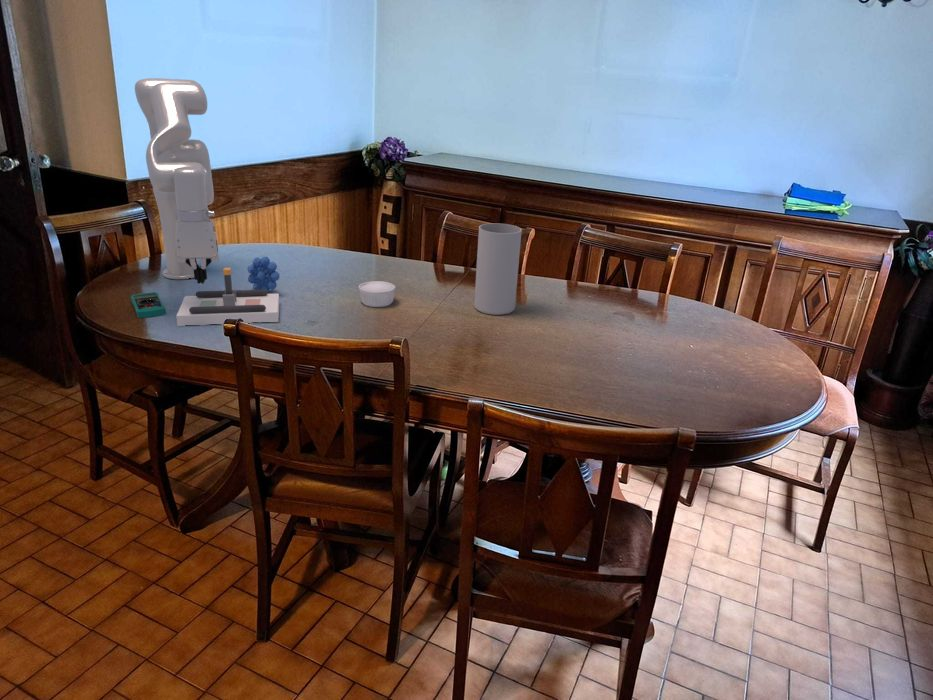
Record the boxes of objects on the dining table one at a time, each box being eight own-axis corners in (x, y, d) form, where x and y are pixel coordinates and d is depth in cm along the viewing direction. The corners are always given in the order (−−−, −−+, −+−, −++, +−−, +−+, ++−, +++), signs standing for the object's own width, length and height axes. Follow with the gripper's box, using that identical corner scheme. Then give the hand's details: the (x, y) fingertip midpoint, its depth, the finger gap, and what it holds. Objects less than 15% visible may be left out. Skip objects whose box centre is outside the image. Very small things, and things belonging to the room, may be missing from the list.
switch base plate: (186, 305, 188) (183, 284, 186) (279, 302, 195) (278, 282, 192) (177, 326, 174) (174, 303, 172) (278, 322, 180) (276, 300, 178)
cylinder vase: (468, 311, 196) (473, 229, 186) (481, 299, 207) (486, 221, 197) (507, 318, 193) (514, 235, 183) (519, 305, 204) (526, 226, 193)
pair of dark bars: (196, 296, 187) (195, 290, 187) (267, 294, 192) (267, 288, 191) (189, 314, 174) (188, 308, 174) (265, 312, 179) (265, 305, 178)
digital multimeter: (137, 320, 178) (136, 310, 177) (131, 303, 189) (129, 293, 188) (166, 316, 182) (165, 306, 180) (158, 300, 193) (157, 290, 192)
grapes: (288, 292, 203) (286, 255, 199) (275, 298, 198) (272, 260, 193) (258, 286, 207) (255, 249, 202) (244, 292, 202) (240, 254, 197)
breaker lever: (226, 299, 184) (222, 267, 180) (235, 299, 185) (231, 267, 181) (225, 303, 181) (221, 270, 177) (234, 303, 182) (230, 270, 178)
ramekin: (366, 294, 206) (366, 278, 204) (400, 299, 204) (400, 282, 202) (353, 306, 196) (353, 289, 194) (388, 310, 194) (388, 293, 192)
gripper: (224, 212, 177) (231, 277, 184) (165, 212, 173) (174, 278, 180) (221, 218, 170) (228, 285, 177) (160, 218, 166) (169, 287, 174)
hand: (201, 281), depth 179 cm, fingers closed
